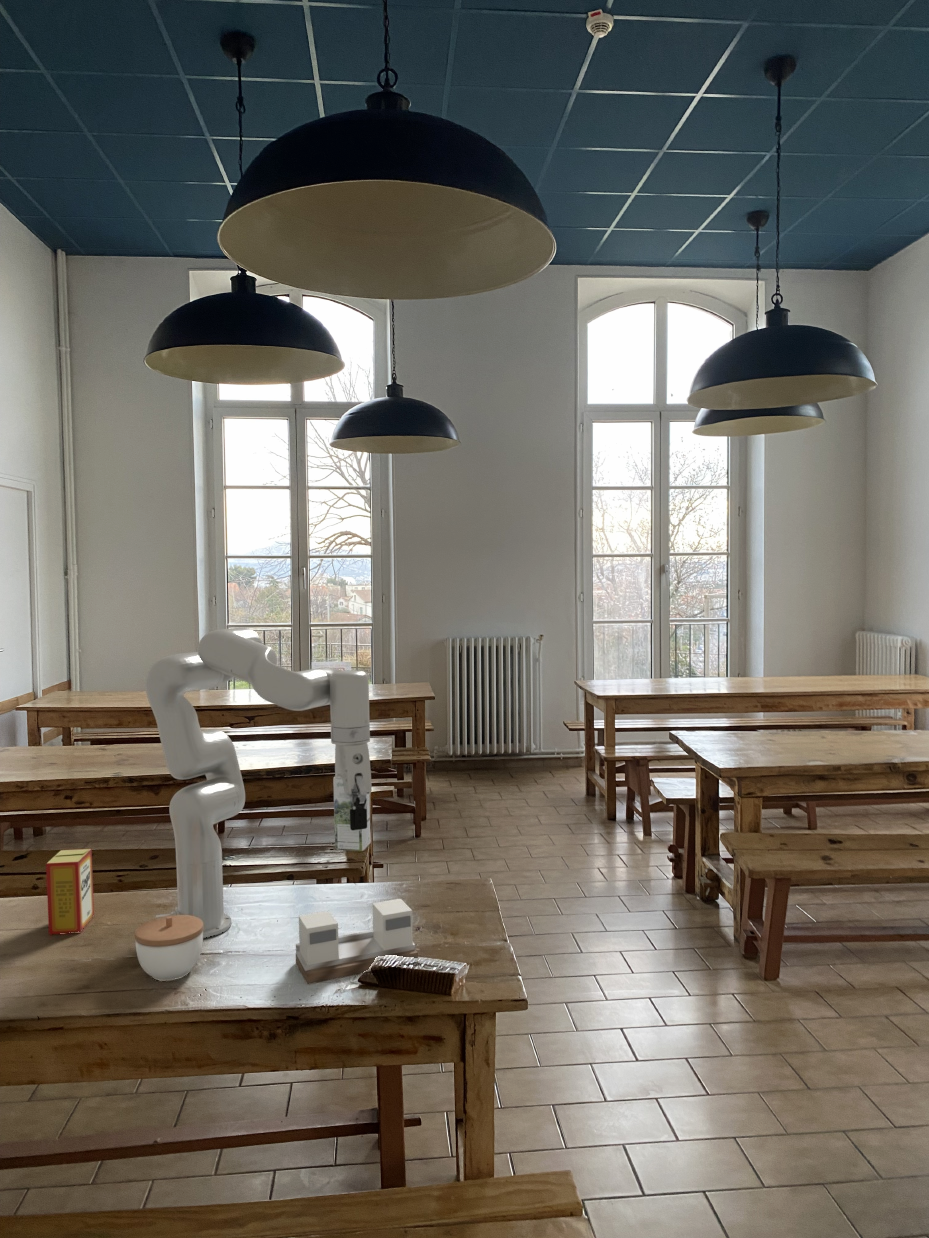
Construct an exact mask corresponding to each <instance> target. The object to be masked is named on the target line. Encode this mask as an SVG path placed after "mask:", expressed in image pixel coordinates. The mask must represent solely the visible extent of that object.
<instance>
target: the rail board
mask: <svg viewBox="0 0 929 1238" xmlns="http://www.w3.org/2000/svg"><path fill="white" fill-rule="evenodd" d="M338 945H339V959H337V960H332V961H327V962H321V963H316V964H311V965H307V963H306V961H305V959H304V958H303V956H302V954H301V952H300V946H299V943H295V964H296V966H297V967H298V970H299V971H300V974H301V975H302V977H303V979H304V981H305V983H306V985H311V984H317V983H322V982H326V981H331V980H337V979H341V978H348V977H351V976H353V977H354V976H357V975H362V974H361V973H363V972H364V971H366V970H368V969H369V967H370V966H371V964H372V963H373V962H374V960H375V958H376V957H378V956H385V955H397V956H403V957H414V958H418V959H419V951H417V950H416V944H415V942H413V945H410V946H405V947H400V948H395V949H389V950H383V949H382V948H381V946H380V945H379V944H378V943H377V941H376V940H375V939H374V938H373V929H371V930H366V931H365V930H364V931H361V932H356V933H355V932H354V933H349V934H344V935H338ZM363 974H364V973H363Z"/></svg>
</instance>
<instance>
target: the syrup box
mask: <svg viewBox="0 0 929 1238" xmlns="http://www.w3.org/2000/svg"><path fill="white" fill-rule="evenodd" d="M332 782H333V786H332V787H333V811H334V812H333V817H334V820H333V821H334V822H333V823H334V850H336V851H351V852H352V851H353V852H363V851H365V850H366V849H367V848H368V846H370V844H371V842H372V836H371V812H370V811H371V806H370V805H371V803H370V802H371V801H370V800H371V799H370V795H371V793H370V794H367V795H366V799H367V801H366V803H367V828H366V829H360V830H351V829H350V809H352V808H351V802H350V796H348V795H346V794H345V792H344V787H343V780H342V778H341V777H340V776H339V775H338V774H337V775H336V776H335V775H334V777H333V781H332ZM355 792H358V790H357V786H356V783H355V789H354V790H352V793H355ZM356 798H357V797H354V800H355V801H356Z"/></svg>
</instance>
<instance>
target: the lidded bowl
mask: <svg viewBox="0 0 929 1238" xmlns="http://www.w3.org/2000/svg"><path fill="white" fill-rule="evenodd" d="M134 941H135V951H136V956H137V960H138V963H139V964H140V967H141V968H142V970H143V971H144V972H145V973H146V974H147V975H149V976H150V977H151V976H152V977H153V978H155V979H159V980H172V979H175V978H179V977H182V976H184V975H186V974H187V973H188V972H189V971H190V972H191V970H192V969H193V968H194V967H195V965H196V964H197V963H198V961H199V959H200V957H201V955H202V954H201V953H202V952H203V951H202V949H203V946H204V945H203V944H204V942H203V941H204V938H203V921H202V920H201V919H199V918H198V917H195V916H190V915H170V916H164V917H159V918H156V917H155V918H153V919H152V918H151V919H150V920H148V921H145V922H143V923H141V924H140V925H138V927H137V928H136V929H135V931H134ZM186 976H187V975H186ZM152 977H151V978H152Z"/></svg>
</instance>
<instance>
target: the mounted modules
mask: <svg viewBox="0 0 929 1238" xmlns="http://www.w3.org/2000/svg"><path fill="white" fill-rule="evenodd" d="M371 904H372V905H371V906H372V930H373V938H374V939H375V940H376V941H377V943H378V944H379V945H380V946H381V948H382V949H383V950H389V949H395V948H400V947H405V946H410V945H413V943H414V941H413V940H414V938H413V936H414V935H413V934H414V932H413V930H414V929H413V910H412V908H411V907H409V905H407V903H405V901H404V900H403V899H402V898H396V899H389V900H384V901H378V902H372V903H371ZM298 934H299V936H298V937H299V940H298V941H299V943H298V944H299V946H300V952H301V954H302V956H303V958H304V959H305V961H306V963H307V965H311V964H316V963H321V962H327V961H332V960H337V959H339V945H338V936H339V923H338V921H337V920H336V918H335V916H333V913H331V912H330V910H324V911H319V912H312V913H307V914H306V913H305V914H300V915H298Z"/></svg>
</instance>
